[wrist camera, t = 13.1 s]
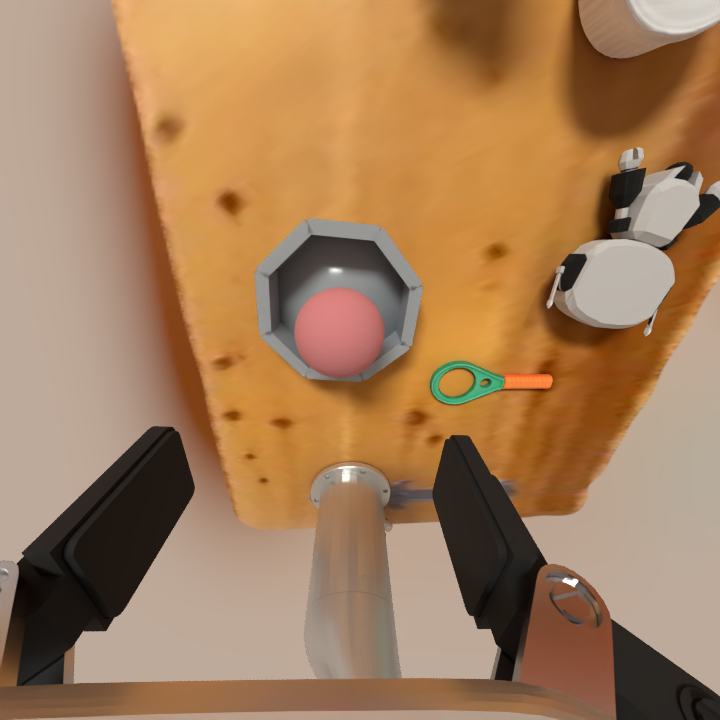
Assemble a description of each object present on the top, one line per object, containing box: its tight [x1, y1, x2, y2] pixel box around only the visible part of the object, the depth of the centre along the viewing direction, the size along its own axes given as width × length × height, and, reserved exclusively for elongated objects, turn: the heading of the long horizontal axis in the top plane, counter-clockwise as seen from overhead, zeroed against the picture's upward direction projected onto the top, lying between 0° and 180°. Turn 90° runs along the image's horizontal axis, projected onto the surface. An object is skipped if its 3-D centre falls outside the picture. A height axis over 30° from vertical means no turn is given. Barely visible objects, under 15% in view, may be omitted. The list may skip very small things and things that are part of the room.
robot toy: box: [547, 147, 720, 336], centre depth 27 cm, size 12×4×15 cm
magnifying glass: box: [430, 361, 553, 404], centre depth 35 cm, size 15×6×2 cm, turn 91°
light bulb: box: [294, 288, 384, 378], centre depth 24 cm, size 7×7×12 cm
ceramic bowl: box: [255, 218, 423, 382], centre depth 28 cm, size 15×15×4 cm
